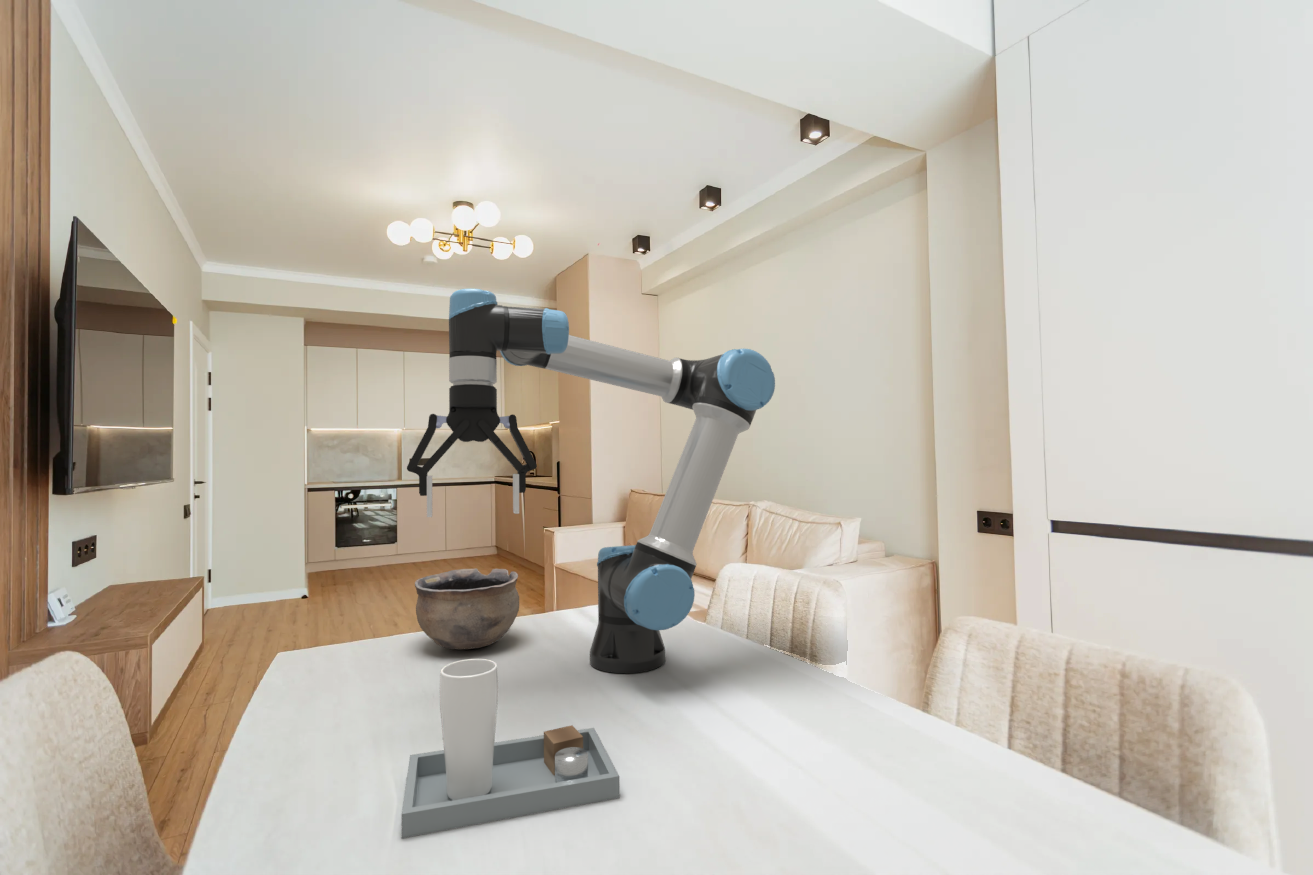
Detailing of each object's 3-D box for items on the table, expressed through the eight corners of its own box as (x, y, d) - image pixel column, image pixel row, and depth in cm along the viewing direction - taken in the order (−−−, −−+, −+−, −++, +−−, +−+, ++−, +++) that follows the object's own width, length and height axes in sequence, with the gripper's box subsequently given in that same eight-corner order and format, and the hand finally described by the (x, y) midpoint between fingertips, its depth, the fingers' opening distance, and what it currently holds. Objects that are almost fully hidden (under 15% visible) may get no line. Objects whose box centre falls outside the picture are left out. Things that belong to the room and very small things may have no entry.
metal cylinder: (584, 777, 79) (584, 744, 79) (591, 793, 75) (590, 759, 75) (552, 782, 78) (552, 749, 78) (557, 799, 74) (557, 764, 74)
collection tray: (594, 749, 87) (594, 727, 88) (619, 802, 74) (619, 775, 74) (410, 779, 80) (410, 754, 80) (401, 843, 67) (401, 813, 67)
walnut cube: (572, 754, 85) (572, 725, 85) (583, 767, 81) (583, 736, 81) (543, 762, 83) (543, 731, 83) (553, 775, 79) (553, 743, 80)
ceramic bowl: (538, 636, 144) (538, 570, 144) (482, 666, 123) (482, 589, 123) (457, 628, 151) (457, 565, 151) (391, 655, 130) (391, 583, 131)
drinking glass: (482, 810, 72) (481, 678, 72) (428, 804, 73) (428, 675, 73) (507, 780, 78) (507, 659, 79) (458, 775, 80) (457, 656, 80)
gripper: (546, 389, 111) (546, 509, 110) (393, 386, 103) (393, 515, 102) (552, 384, 103) (553, 513, 103) (389, 380, 96) (389, 520, 95)
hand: (473, 514), depth 102 cm, fingers open, 13 cm apart
